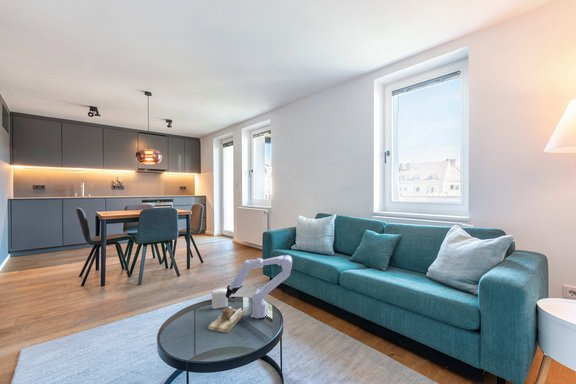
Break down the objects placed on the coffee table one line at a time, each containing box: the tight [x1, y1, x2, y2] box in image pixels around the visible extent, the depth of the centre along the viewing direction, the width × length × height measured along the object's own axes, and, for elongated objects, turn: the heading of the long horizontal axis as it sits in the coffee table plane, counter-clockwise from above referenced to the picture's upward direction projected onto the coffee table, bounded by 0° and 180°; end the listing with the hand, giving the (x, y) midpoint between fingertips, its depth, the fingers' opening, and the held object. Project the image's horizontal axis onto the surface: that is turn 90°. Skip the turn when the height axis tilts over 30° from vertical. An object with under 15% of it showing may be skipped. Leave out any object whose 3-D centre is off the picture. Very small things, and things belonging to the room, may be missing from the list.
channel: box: [218, 306, 242, 321], centre depth 164 cm, size 8×13×2 cm, turn 163°
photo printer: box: [211, 288, 229, 310], centre depth 178 cm, size 10×4×12 cm, turn 109°
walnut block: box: [221, 307, 234, 320], centre depth 160 cm, size 5×5×5 cm
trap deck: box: [208, 308, 246, 333], centre depth 160 cm, size 12×22×2 cm, turn 163°
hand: (229, 295), depth 168 cm, fingers open, 7 cm apart
